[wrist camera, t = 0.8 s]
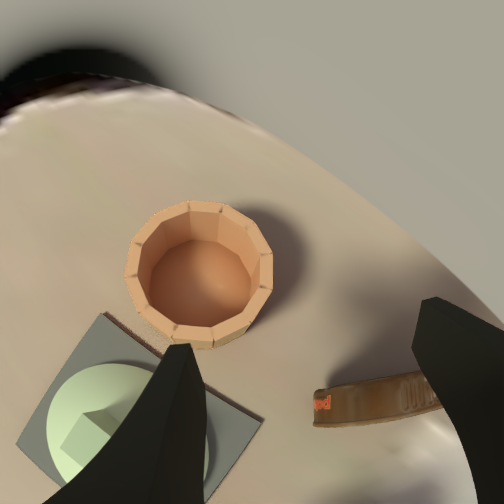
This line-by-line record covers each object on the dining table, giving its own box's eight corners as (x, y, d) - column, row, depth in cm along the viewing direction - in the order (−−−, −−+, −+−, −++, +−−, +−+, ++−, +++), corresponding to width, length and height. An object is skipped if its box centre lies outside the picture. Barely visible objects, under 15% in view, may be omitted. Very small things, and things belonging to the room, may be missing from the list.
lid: (156, 540, 15) (146, 570, 10) (28, 445, 16) (-5, 453, 12) (241, 427, 20) (250, 438, 15) (102, 331, 21) (78, 317, 17)
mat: (162, 551, 15) (162, 553, 14) (17, 443, 16) (15, 444, 16) (260, 422, 20) (261, 423, 20) (102, 313, 22) (100, 312, 21)
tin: (297, 424, 21) (344, 441, 13) (296, 383, 22) (342, 381, 14) (451, 395, 23) (520, 387, 15) (450, 363, 24) (517, 346, 16)
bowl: (217, 373, 21) (220, 370, 17) (118, 302, 22) (98, 281, 18) (281, 274, 25) (298, 248, 20) (187, 215, 26) (184, 179, 21)
